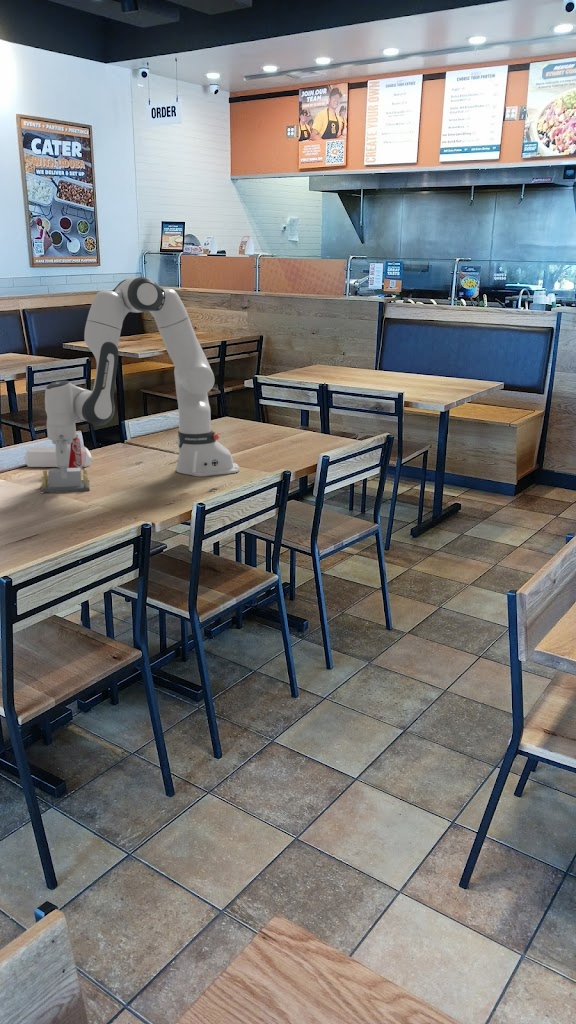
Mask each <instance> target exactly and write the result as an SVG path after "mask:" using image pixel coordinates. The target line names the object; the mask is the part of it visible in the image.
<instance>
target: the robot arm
mask: <svg viewBox="0 0 576 1024" xmlns="http://www.w3.org/2000/svg"><path fill="white" fill-rule="evenodd" d="M147 312H149V313H150V314H151V316H152V317H153V319H154V321H155V324H156V327H157V330H158V332H159V335H160V337H161V339H162V343H163V344H164V347H165V350H166V352H167V354H168V356H169V358H170V359H171V362H172V363H173V366H174V370H173V374H174V385H175V393H176V400H177V405H178V406H177V407H178V425H179V426H178V431H177V445H178V457H177V463H176V468H175V472H176V473H177V472H178V473H180V474H183V475H189V476H194V477H208V476H217V475H226V474H228V475H229V474H236V472H237V473H238V472H239V471H240V466H239V464H237V463H236V462H234V460H233V456H232V453H231V452H230V450H229V449H228V448H227V447H225V446H224V445H222V444H221V443H220V442H218V440H219V439H220V435H219V434H218V433H217V432H215V431H214V430H213V429H212V428H211V425H212V424H211V423H212V421H211V415H212V414H211V405H210V401H209V395H208V393H209V392H210V391H211V390H212V389H213V387H214V385H215V381H216V380H215V375H214V372H213V369H212V368H211V365H210V363H209V360H208V358H207V356H206V354H205V352H204V350H203V348H202V345H201V343H200V342H199V340H198V338H197V335H196V332H195V330H194V327H193V324H192V322H191V319H190V316H189V313H188V311H187V309H186V306H185V305H184V303H183V301H182V299H181V297H180V296H179V294H178V292H177V291H176V290H175V289H172V288H167V287H166V288H162V287H161V286H160V285H159V284H157V282H155V280H153V279H151V278H149V277H147V276H132V277H130V278H127V279H124V280H122V281H120V282H119V283H118V284H117V285H116V286H115V288H113V289H112V290H110V289H109V290H107V289H105V290H100V291H98V292H97V293H96V294H95V297H94V298H93V300H92V303H91V306H90V308H89V310H88V315H87V318H86V322H85V327H84V334H83V335H84V336H83V337H84V343H85V345H86V346H87V348H88V350H90V352H92V354H93V356H94V358H95V362H96V368H95V376H94V382H93V388H92V390H89V389H85V388H82V387H79V386H77V385H75V384H73V383H71V382H70V381H68V380H57V381H53V382H51V383H49V384H47V386H46V387H45V390H44V391H45V393H44V408H45V413H46V416H47V417H46V431H47V433H46V434H47V439H48V440H51V443H52V444H53V445H55V447H56V462H57V467H56V468H57V469H60V471H61V477H62V479H66V478H67V468H68V466H69V458H70V449H71V443H72V442H73V440H72V439H74V438H76V434H77V429H76V420H78V419H80V420H83V421H85V422H88V423H89V424H91V425H93V426H97V427H101V426H105V425H107V424H108V423H109V422H110V421H111V420H112V419H113V417H114V415H115V412H116V411H115V410H116V405H115V399H114V398H115V397H114V394H115V393H114V392H115V386H116V384H115V383H116V379H117V371H118V364H119V343H120V337H121V332H122V328H123V323H124V320H125V318H126V316H127V315H128V313H136V314H137V313H138V314H139V313H147ZM211 429H212V430H211Z"/></svg>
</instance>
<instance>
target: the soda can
mask: <svg viewBox="0 0 576 1024" xmlns="http://www.w3.org/2000/svg"><path fill="white" fill-rule="evenodd" d="M72 440H73V442H72V443H71V449H70V458H69V466H68V468H81V471H82V470H83V467H82V458H81V447H82V446H81V438H80V437H79V434H77V433H76V438H74V439H72Z"/></svg>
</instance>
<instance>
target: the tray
mask: <svg viewBox="0 0 576 1024" xmlns="http://www.w3.org/2000/svg"><path fill="white" fill-rule="evenodd" d="M82 470H83V471H82V472H83V474H82V479H81V480H82V486H69V487H49V478H48V471H47V470H43V471H42V473H43V476H41V489H40V493H41V492H52V493H67V492H69V493H70V492H85V491H86V492H87V491H90V479H88V478H89V477H88V469H87V468H82Z"/></svg>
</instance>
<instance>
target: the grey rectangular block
mask: <svg viewBox="0 0 576 1024" xmlns="http://www.w3.org/2000/svg"><path fill="white" fill-rule="evenodd" d="M47 476H48V482H49V487H69V486H82V480H83V479H82V470H81V468H67V478H66V479H62V477H61V471H60V468H49V469H48V471H47Z"/></svg>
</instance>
